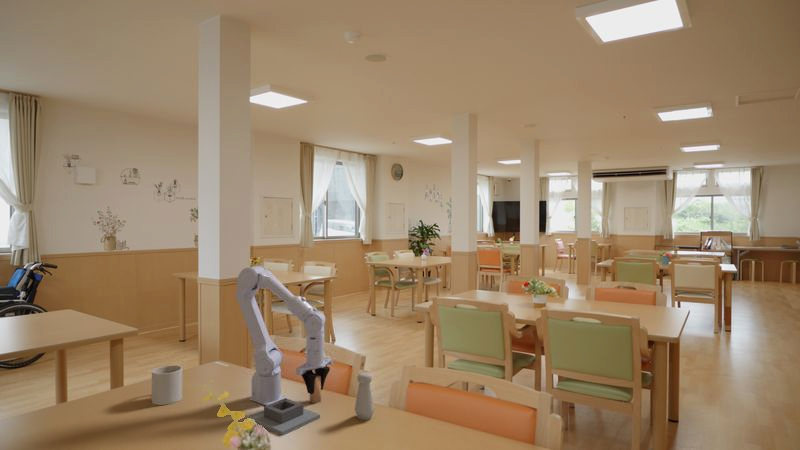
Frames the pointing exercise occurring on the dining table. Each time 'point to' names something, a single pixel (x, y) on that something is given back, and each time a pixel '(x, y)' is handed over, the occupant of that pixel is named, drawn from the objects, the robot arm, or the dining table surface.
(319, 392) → the peg
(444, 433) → the dining table surface
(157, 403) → the grey cup
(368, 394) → the salt shaker
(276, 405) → the socket board
